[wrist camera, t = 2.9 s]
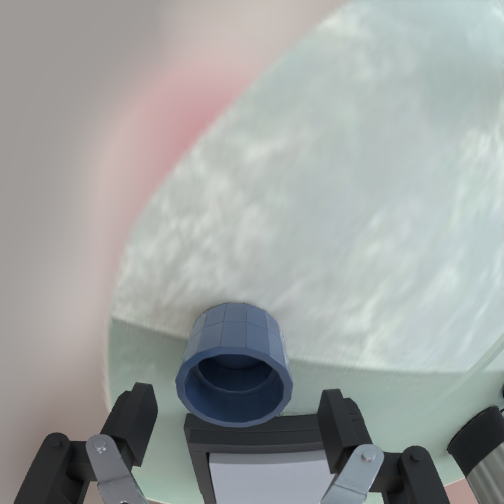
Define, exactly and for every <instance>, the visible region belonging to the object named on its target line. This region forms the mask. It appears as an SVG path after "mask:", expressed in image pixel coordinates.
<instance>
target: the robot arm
mask: <svg viewBox="0 0 504 504" xmlns="http://www.w3.org/2000/svg"><path fill="white" fill-rule="evenodd" d="M157 414H158V406H157V402H156V398H155V394H154V390H153V386H152V385H151V384H145V383H138V382H136V383H135V385H134V387H133V389H132V391H125V392H124V393H122V394H121V395H120V396H119V397H118V399H117V401H116V403H115V406H114V407H113V409H112V412H110V414H109V416H108V419H107V420H106V423H105V425H104V427H103V429H102V430H101V433H100V434H98V435H94V436H92V437H90V438H89V439H88V441H70V440H69V439H68V437H67V436H66V435H64V434H62V433H51V434H49V435H48V436H47V437H46V438H45V440H44V441H43V443H42V445H41V447H40V449H39V451H38V453H37V455H36V457H35V459H34V461H33V463H32V465H31V467H30V469H29V471H28V473H27V475H26V477H25V479H24V481H23V484H22V486H21V488H20V490H19V492H18V495H17V497H16V499H15V501H14V504H83V501H84V498H85V495H86V492H87V489H88V486H89V483H90V481H98V484H97V486H98V490H99V492H100V494H101V496H102V499H103V501H104V504H149V503H148V501H147V500H146V498H145V496H144V495H143V493H142V491H141V489H140V488H139V486H138V484H137V482H136V480H135V478H134V477H133V475H132V473H131V470H132V467H133V466H138V467H141V464H142V461H143V458H144V455H145V452H146V449H147V446H148V442H149V439H150V436H151V433H152V430H153V427H154V424H155V421H156V418H157ZM317 419H318V425H319V429H320V433H321V437H322V441H323V445H324V449H325V454H326V458H327V462H328V466H329V470H330V474H337V473H338V476H339V477H338V478H337V480H336V481H335V483H334V484H333V485H332V486H331V488H330V489H329V491H328V492H327V494H326V495H325V497H324V498H323V500H322V501H321V502H320V504H363V503H364V502H365V500H366V497H367V493H368V492H381V493H382V497H383V501H384V504H450V502H449V499H448V497H447V495H446V492H445V489H444V487H443V484H442V482H441V479H440V477H439V475H438V472H437V470H436V468H435V465H434V463H433V461H432V459H431V456H430V454H429V452H428V451H427V450H426V449H425V448H423V447H421V446H411V447H408V448H407V449H405V450H404V452H403V453H389V452H383V451H382V450H381V449H380V448H379V447H378V446H376V445H373V443H372V441H371V438H370V436H369V433H368V431H367V428H366V426H365V423H364V421H363V420H362V419H363V418H362V416H361V414H360V411H359V409H358V406H357V404H356V403H355V402H354V401H353V400H352V399H351V398H343V396H342V394H341V391H340V389H329V390H323V392H322V396H321V400H320V404H319V408H318V414H317Z"/></svg>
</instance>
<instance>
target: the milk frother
mask: <svg viewBox="0 0 504 504" xmlns="http://www.w3.org/2000/svg"><path fill="white" fill-rule="evenodd" d="M503 397H504V391H503ZM503 411H504V409H502V410H501V411H499V408H498V407H497V406H495V407H491V408H489V409H487V410H485V411H484V412H482V413H481V414H479V415H478V416H477V417H476V418H474V419H473V420H472V421H471V422H469V423H468V424H467V425H466V426H465V427H464V428H463V429H462V430H461V431H460V432H459V433H458V434H457V435H456V437H455V438H454V439H453V440H452V442H451V443H450V445H449V447H448V453H449V454H451V455H452V456H453V458H454V459H455V461H456V462H457V464H458V466H459V467H460V469H461V470H462V472H463V474H464V476H465V478H466V479H467V481H468V484H469V486H470V487H471V489H472V491H473V493H474V495H475V497H476V499H477V501H478V503H479V504H504V417H503V416H502V414H501V413H502V412H503Z"/></svg>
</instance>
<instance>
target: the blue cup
mask: <svg viewBox="0 0 504 504" xmlns="http://www.w3.org/2000/svg"><path fill="white" fill-rule="evenodd" d="M175 383H176V389H177V394H178V397H179V399H180V400H181V401H182V403H183V404H184V405H185V407H186V408H187V409H188V410H189V411H190V412H191V413H193V414H194V415H196V416H197V417H199V418H201V419H202V420H204V421H206V422H209V423H213V424H216V425H219V426H223V427H249V426H253V425H258V424H262V423H265V422H267V421H268V420H270V419H272V418H273V417H275V416H277V415H278V414H280V413H281V412H282V411H283V409H284V408H285V407H286V405H287V404H288V403H289V401H290V400H291V395H292V388H293V381H292V376H291V371H290V366H289V362H288V357H287V352H286V347H285V342H284V338H283V334H282V332H281V330H280V327H279V325H278V323H277V321H276V320H274V319H273V318H272V317H271V316H270V315H269V314H268V313H267V312H266V311H264V310H263V309H260V308H257V307H255V306H252V305H250V304H245V303H227V304H226V303H225V304H222V305H219V306H216V307H213V308H210V309H208V310H207V311H206V312H205V313H203V314H202V315H201V316H200V317H199V318H198V319H197V320H196V321H195V323H194V326H193V328H192V331H191V333H190V336H189V339H188V342H187V345H186V348H185V351H184V354H183V357H182V360H181V363H180V366H179V370H178V373H177V376H176V379H175Z"/></svg>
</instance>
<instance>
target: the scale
mask: <svg viewBox="0 0 504 504" xmlns="http://www.w3.org/2000/svg"><path fill="white" fill-rule="evenodd" d="M359 411H360V410H359ZM360 414H361V412H360ZM361 416H362V414H361ZM362 418H363V417H362ZM362 420H363V421H364V419H362ZM364 423H365V421H364ZM184 431H185V435H186V440H187V444H188V448H189V452H190V456H191V460H192V464H193V468H194V471H195V475H196V479H197V482H198V486H199V489H200V492H201V494H202V496H203V499H204V503H205V504H217V502H216V497H215V493H214V488H213V483H212V477H211V472H210V467H209V457H210V452H211V453H230V454H275V453H294V452H306V451H316V450H325V449H324V445H323V441H322V437H321V433H320V429H319V425H318V419H317V415H305V416H288V417H273V418H272V419H270V420H268V421H267V422H265V423H262V424H258V425H253V426H249V427H223V426H219V425H216V424H213V423H209V422H206V421H204V420H202V419H201V418H199V417H197V416H196V415H193V414H187V415H186V420H185V424H184ZM338 477H339V476H338V473H337V474H335V476H334V478H333V480H332V481H331V483H330V485H329V487H328V489H327V491H326V492H325V494H324V496H323V498H324V497H325V495H326V494H327V492H328V491H329V489H330V488H331V486H332V485H333V484H334V483H335V481H336V480H337V478H338ZM323 498H322V499H321V501H322V500H323ZM321 501H320V502H321Z"/></svg>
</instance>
